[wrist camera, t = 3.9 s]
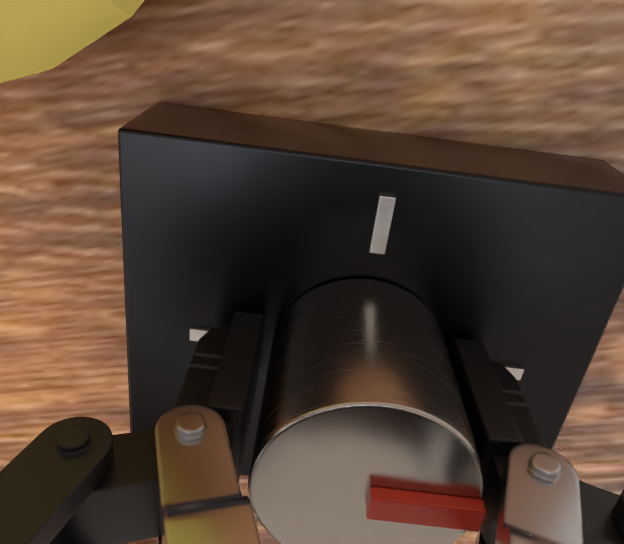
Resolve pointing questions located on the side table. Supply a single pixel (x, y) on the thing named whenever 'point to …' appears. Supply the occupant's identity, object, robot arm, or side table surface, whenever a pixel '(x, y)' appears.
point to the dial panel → (361, 243)
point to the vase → (53, 31)
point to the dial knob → (363, 425)
